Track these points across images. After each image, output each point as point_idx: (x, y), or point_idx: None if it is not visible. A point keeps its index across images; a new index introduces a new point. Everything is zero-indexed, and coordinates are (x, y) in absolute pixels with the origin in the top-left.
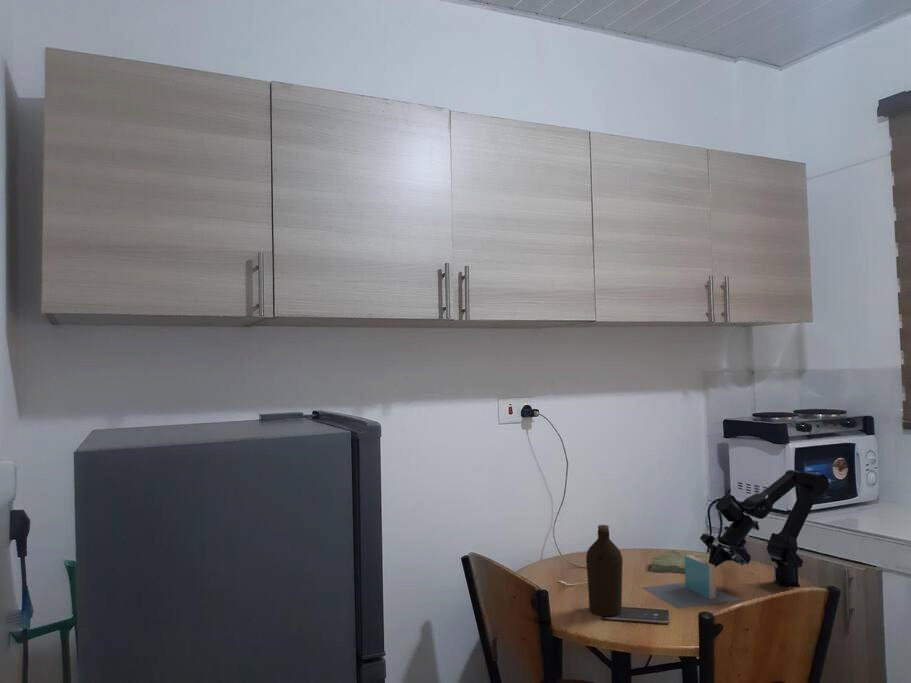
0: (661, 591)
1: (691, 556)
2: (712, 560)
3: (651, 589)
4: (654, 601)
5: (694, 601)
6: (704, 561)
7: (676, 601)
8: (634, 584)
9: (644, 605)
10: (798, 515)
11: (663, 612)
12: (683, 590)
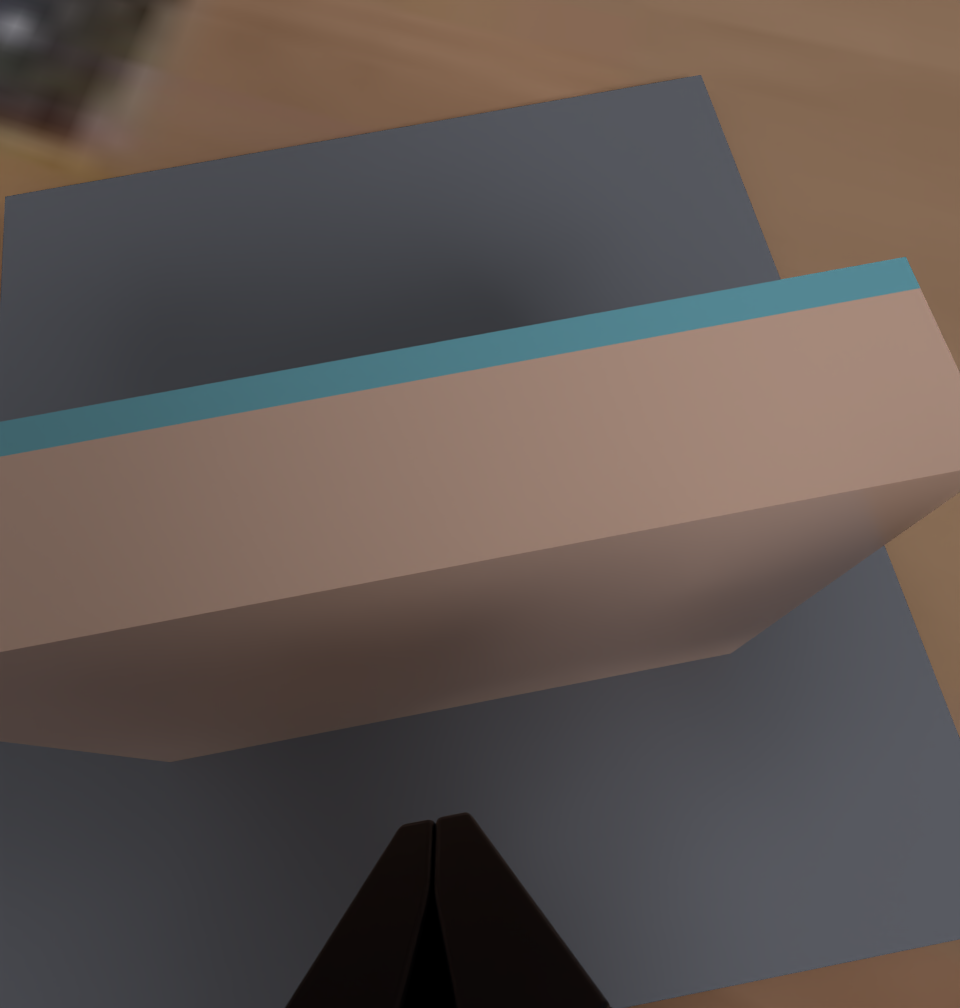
0: (542, 214)
1: (811, 409)
2: (339, 978)
3: (625, 143)
4: (317, 103)
5: None
6: (187, 566)
7: (191, 250)
8: (873, 76)
9: (238, 6)
10: None
11: (23, 91)
12: None
